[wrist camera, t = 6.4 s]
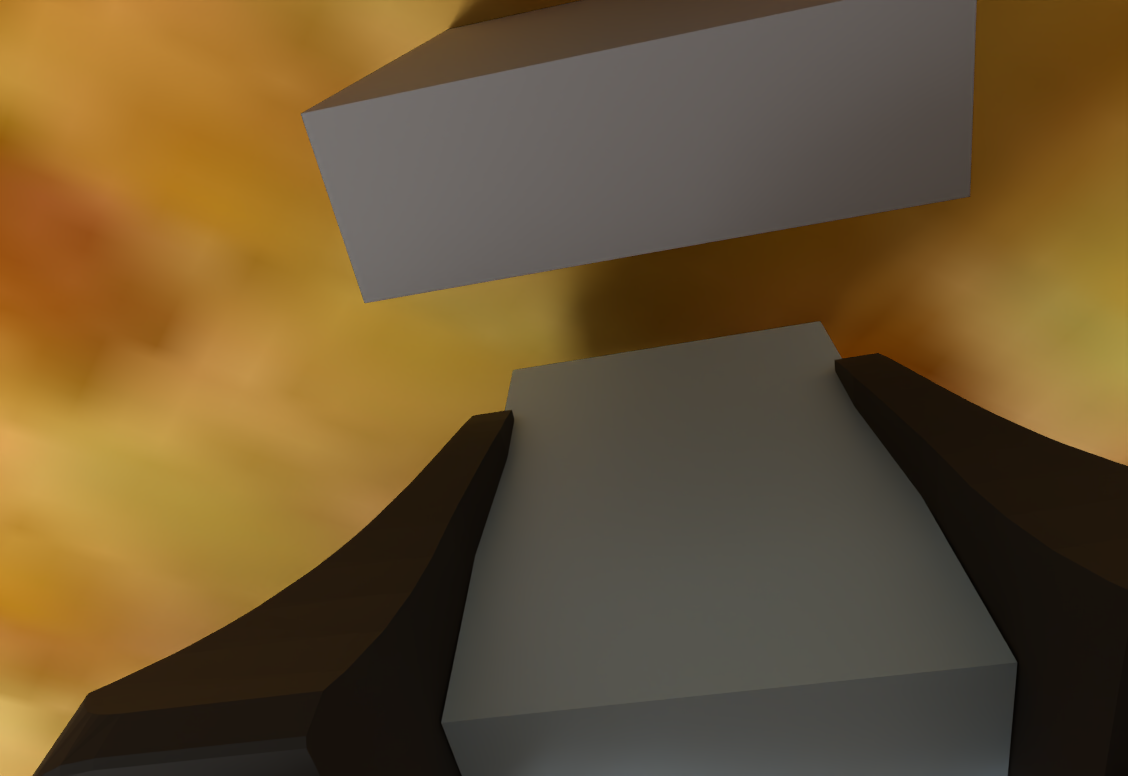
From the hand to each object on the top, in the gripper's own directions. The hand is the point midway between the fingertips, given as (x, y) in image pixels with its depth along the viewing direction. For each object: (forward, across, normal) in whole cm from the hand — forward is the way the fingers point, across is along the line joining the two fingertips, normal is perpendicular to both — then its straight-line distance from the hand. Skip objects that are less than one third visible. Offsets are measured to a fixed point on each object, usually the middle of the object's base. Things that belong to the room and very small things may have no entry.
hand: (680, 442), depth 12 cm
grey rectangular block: (+3, 0, -5) cm, 6 cm away
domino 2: (+2, 0, 0) cm, 2 cm away
